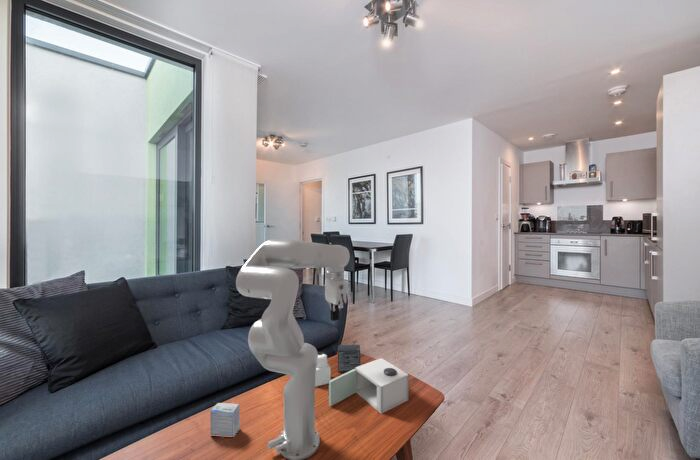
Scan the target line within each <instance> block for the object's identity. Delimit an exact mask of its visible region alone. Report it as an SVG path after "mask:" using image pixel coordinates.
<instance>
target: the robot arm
mask: <svg viewBox="0 0 700 460" xmlns="http://www.w3.org/2000/svg"><path fill="white" fill-rule="evenodd" d="M350 255H351V254H350V251H349V249H348V248H347V247H346V246H343V245H341V244H328V243H327V244H325V243H320V242H312V241H305V240H300V239H299V240H298V239H274V238H273V239H268V240H266V241H264V242H263V243H262V244H261V245H260V246H259V247H258V248H257V249H255V251H254V252H253V253H252V255H250V257H249V259H247V260H246V262H245V263H244V264H243V265H242V267H241V268H240V269H239V271H238V274H237V276H236V278H235V279H236V280H235V288H236V290H237V292H239V294H241V296H243V297H246V298H247V297H248V298H255V299H264V300H270V303H269V305H268V307H266V309H265V310H264V312H263V314H262V316H261V318H260V319H258V320H257V321H254V323H253V324H252V325H251V327H250V329H249V331H248V336H247V337H248V338H247V342H248V347H249V350H250V352H251V353H252V354H253V355H254V357H255V358H256V360H257V361H258V362H259V363H260V365H261V366H262V367H263V368H264V369H266V370H267V371H268V372H269V371H270V372H275V373H279V374H284V375H287V376H289V377H290V378H289V379H288V380H287V382H286V383H285V385H284V386H283V387H284V388H283V429H282V430H280V435H278V436H277V438H274V439H272V440H269V441H268V442H267V447H268V450H271V449H274V452H275V453H278V452H279V453H280V455H281V456H282V457H283V458H284V459H287V460H305V459H307V458H310V457H311V456H312V455H314V454H315V453H316V452H317V450H319V446H320V444H321V441H320V440H321V437H320V434H319V432H318V431H317V429H316V426H315V425H316V415H315V414H316V411H315V410H316V406H315V405H316V399H315V398H316V396H315V395H316V392H315V391H316V387H315V373H316V366H317V360H318V352H319V351H318V350H317V348H316V346H314V345H312V344H311V343H307V342H304V341H305V338H304V334H303V332H302V329H301V328H300V325H299V323H298V322H297V319H296V318H295V316H294V315H295V314H294V307H295V304H296V299H297V295H298V291H299V287H300V280H299V276H298V274H297V272H295V271H294V269H295V270H296V269H321V268H325V284H324V285H325V286H324V299H325V301H326V302H327V304H328V305H329V310H330V320H331V321H332V322H335V321H338V320H340V311H341V309H343V308H344V304H347V288H346V287H347V286H346V280H345V267H346V266H347V265H348V264H349V261H350V257H351V256H350Z"/></svg>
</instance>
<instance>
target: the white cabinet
mask: <svg viewBox="0 0 700 460" xmlns="http://www.w3.org/2000/svg"><path fill="white" fill-rule="evenodd" d="M355 369H356V393H355V394H357V395H358V396H360V397H361V398H362V399H363V400H364V401H366V402H367V403H368V404H369V405H370V406H371V407H372V408H374V409H375V410H376V411H378V413H380V414H384V413H386V412H387V411H389V410H391V409H394V408H396V407H398V406H399V405H401V404H403V403H406V402H407V401H409V396H410V395H409V388H410V387H409V385H410V384H409V381H410V379H409V378H410V377H409V373H407V372H406V371H404V370H402V369H400V368H398V367H397V366H396V365H393V364H392V363H390V362H388V361H387V360H385V359H384V358H382V357H380V358H377V359H375V360H372V361H370V362H367V363H364V364H360V366H358V367H355Z"/></svg>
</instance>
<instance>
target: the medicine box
mask: <svg viewBox="0 0 700 460" xmlns="http://www.w3.org/2000/svg"><path fill="white" fill-rule="evenodd" d="M240 410H241V409H240V404H238V403H230V402H229V403H227V402H217V403H216V404H215V405H214V406H213V407H212V408H211V410H210V412H209V413H210V414H209V415H210V416H209V417H210V418H209V419H210V436H211V435H221V436H232V437H234V436H235V434H236V433H238V432H239V431H240V429H241V422H240V421H241V420H240V419H241V416H240V415H241V413H240ZM239 428H240V429H239ZM238 430H239V431H238ZM237 431H238V432H237ZM236 435H237V434H236ZM235 437H236V436H235ZM235 437H234V438H235Z"/></svg>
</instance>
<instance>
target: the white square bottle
mask: <svg viewBox="0 0 700 460" xmlns="http://www.w3.org/2000/svg"><path fill="white" fill-rule="evenodd" d="M317 352H318V360H317V366H316V373H315V388H317V387H319V386H324V385H327V384H328V385H329V381H330V380H332V378H331V377H332V376H331V371H332V369H331V365H329V363H328V354H327V353H326V352H324V351H317Z"/></svg>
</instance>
